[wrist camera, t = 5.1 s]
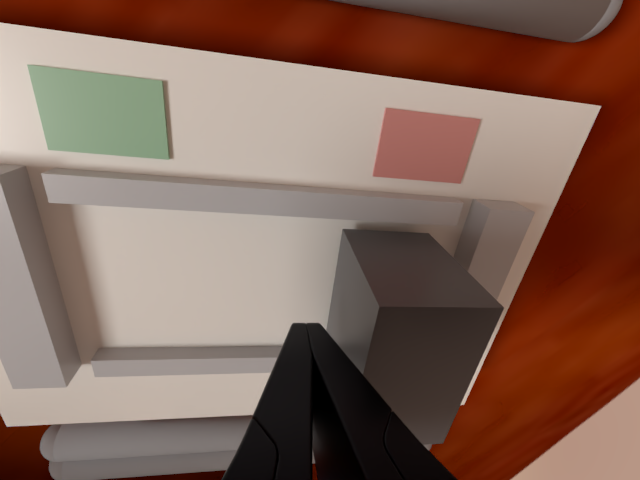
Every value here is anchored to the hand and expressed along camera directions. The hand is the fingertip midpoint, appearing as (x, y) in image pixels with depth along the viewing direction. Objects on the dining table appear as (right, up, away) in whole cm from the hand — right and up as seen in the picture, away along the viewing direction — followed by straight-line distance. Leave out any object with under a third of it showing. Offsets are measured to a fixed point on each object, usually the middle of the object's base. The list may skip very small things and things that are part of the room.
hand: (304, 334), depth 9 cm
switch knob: (+2, +1, +3) cm, 3 cm away
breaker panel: (-2, +2, +4) cm, 5 cm away
